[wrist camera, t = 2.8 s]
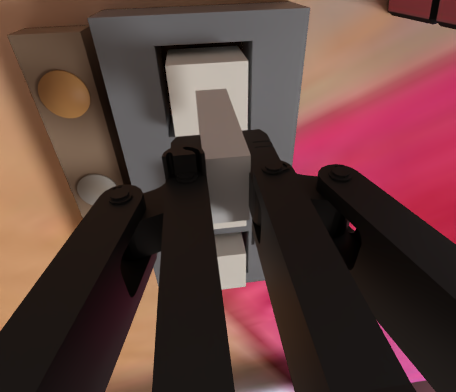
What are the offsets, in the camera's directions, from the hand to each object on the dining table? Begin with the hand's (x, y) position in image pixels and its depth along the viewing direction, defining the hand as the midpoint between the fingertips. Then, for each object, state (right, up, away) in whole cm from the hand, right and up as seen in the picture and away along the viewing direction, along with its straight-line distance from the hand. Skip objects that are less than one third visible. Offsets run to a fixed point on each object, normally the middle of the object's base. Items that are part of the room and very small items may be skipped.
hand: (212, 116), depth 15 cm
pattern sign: (-10, -2, +11) cm, 15 cm away
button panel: (-1, -1, +11) cm, 11 cm away
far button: (0, -8, +14) cm, 16 cm away
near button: (-1, +4, +5) cm, 6 cm away
